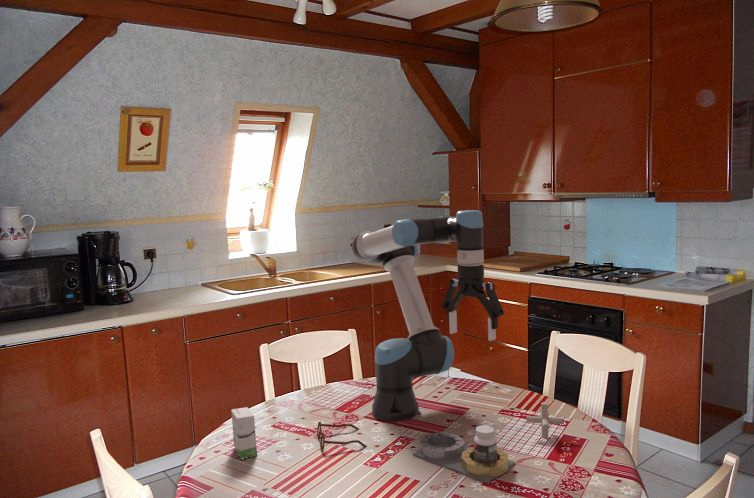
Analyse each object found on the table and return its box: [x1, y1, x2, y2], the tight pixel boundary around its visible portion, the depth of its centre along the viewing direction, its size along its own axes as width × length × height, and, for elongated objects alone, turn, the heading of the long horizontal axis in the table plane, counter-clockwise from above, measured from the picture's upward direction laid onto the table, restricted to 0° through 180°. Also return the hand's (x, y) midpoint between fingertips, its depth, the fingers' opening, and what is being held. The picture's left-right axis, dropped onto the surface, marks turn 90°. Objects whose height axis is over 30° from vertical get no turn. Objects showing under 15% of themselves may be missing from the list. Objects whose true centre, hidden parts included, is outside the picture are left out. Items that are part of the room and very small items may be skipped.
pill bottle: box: [473, 424, 498, 464], centre depth 152 cm, size 6×6×10 cm
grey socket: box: [419, 431, 465, 461], centre depth 162 cm, size 12×12×2 cm
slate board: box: [412, 444, 516, 484], centre depth 158 cm, size 24×13×1 cm, turn 46°
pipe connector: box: [526, 401, 564, 439], centre depth 169 cm, size 10×10×10 cm
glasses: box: [316, 421, 367, 452], centre depth 172 cm, size 13×13×5 cm
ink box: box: [231, 406, 258, 460], centre depth 167 cm, size 9×5×12 cm, turn 26°
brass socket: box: [461, 446, 509, 477], centre depth 153 cm, size 12×12×2 cm
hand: (472, 336), depth 172 cm, fingers open, 13 cm apart
